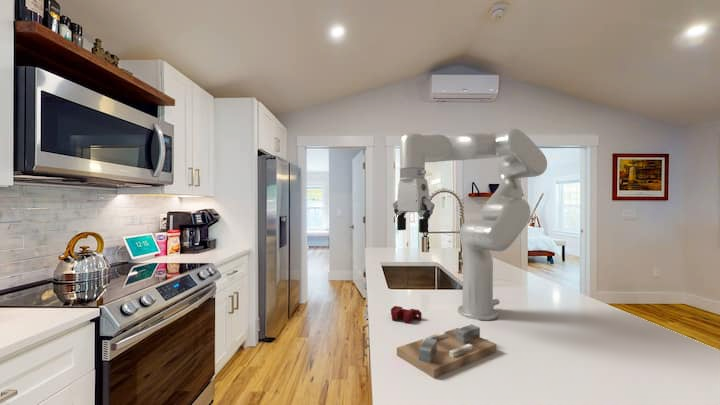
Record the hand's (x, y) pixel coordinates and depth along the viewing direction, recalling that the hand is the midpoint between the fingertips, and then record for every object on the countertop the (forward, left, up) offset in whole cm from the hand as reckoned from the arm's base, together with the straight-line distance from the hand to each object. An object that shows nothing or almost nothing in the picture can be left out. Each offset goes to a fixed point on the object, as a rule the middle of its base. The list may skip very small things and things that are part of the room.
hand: (412, 231), depth 96 cm
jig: (+6, +19, -28) cm, 35 cm away
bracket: (-3, 0, -27) cm, 27 cm away
